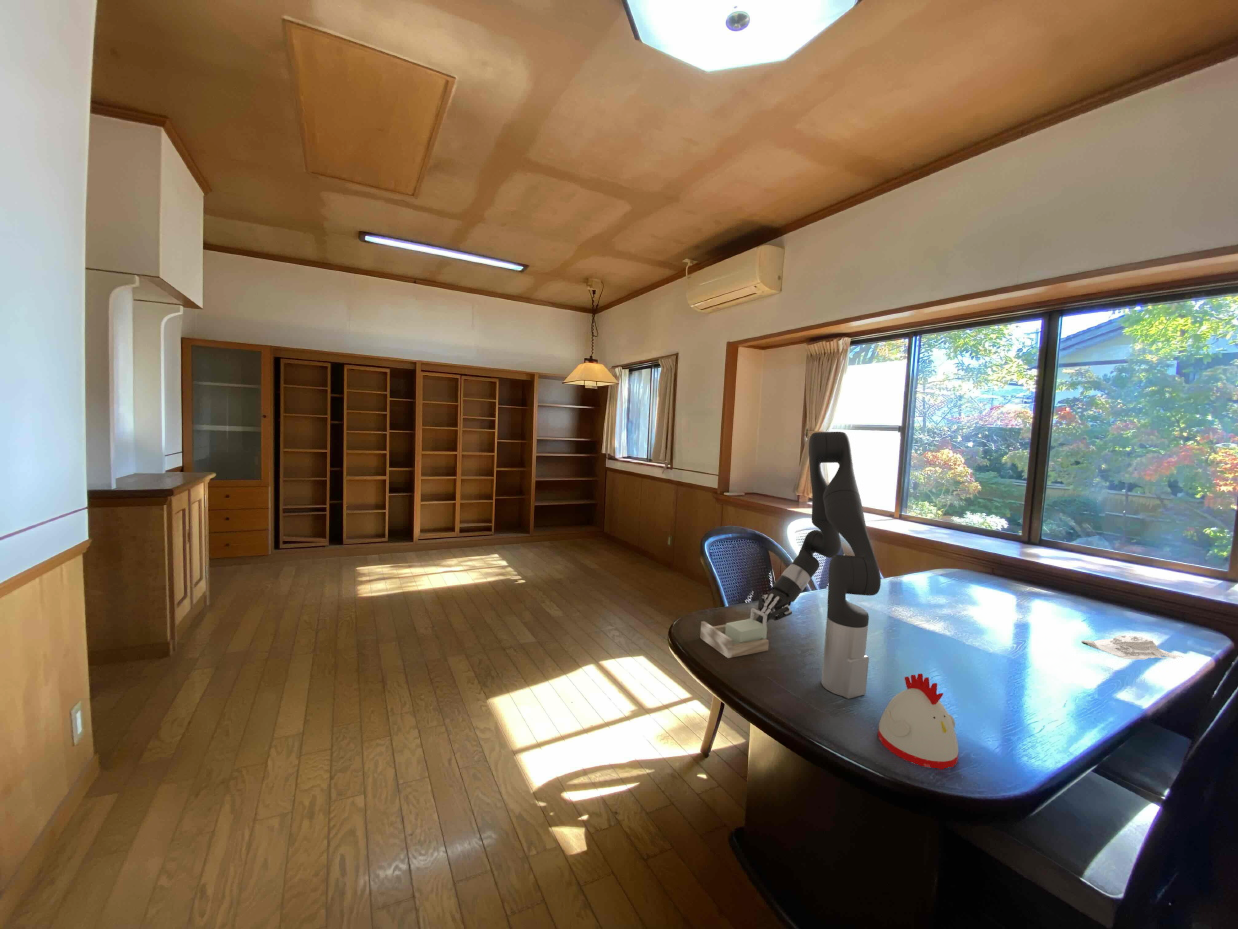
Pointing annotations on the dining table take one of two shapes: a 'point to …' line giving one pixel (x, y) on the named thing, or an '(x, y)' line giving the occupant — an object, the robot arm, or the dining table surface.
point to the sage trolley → (747, 629)
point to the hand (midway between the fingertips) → (757, 626)
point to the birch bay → (729, 642)
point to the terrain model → (1130, 647)
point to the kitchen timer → (919, 726)
